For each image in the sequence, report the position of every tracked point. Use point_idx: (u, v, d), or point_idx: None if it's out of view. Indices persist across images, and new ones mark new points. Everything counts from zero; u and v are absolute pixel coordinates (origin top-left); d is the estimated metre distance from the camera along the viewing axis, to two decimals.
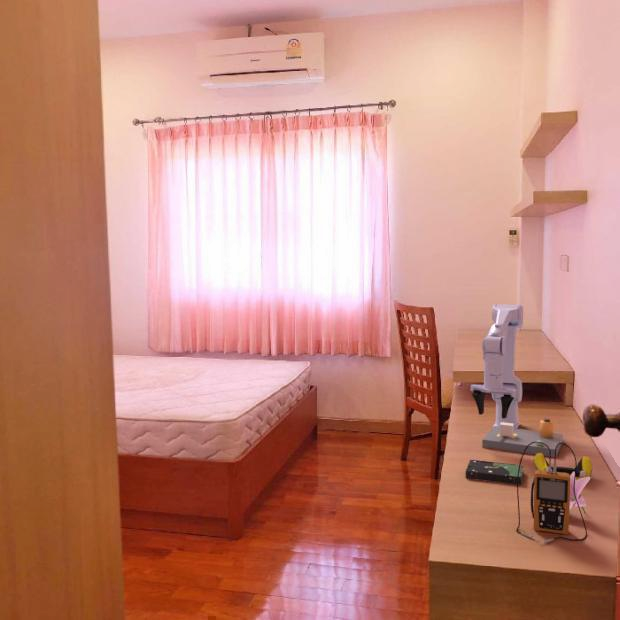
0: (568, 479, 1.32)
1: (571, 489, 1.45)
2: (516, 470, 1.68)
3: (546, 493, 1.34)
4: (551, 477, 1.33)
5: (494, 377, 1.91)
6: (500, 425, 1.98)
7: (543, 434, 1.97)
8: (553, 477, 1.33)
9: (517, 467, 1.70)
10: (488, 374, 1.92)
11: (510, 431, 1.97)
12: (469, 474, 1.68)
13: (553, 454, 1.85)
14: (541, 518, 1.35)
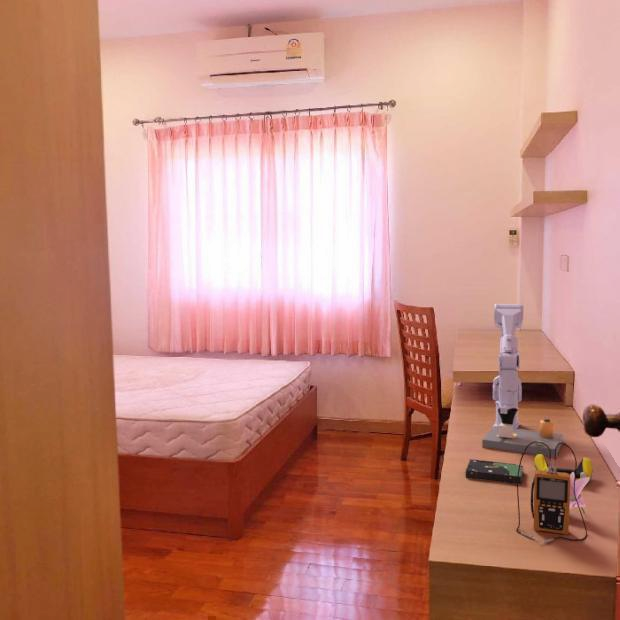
0: (568, 479, 1.32)
1: (570, 489, 1.45)
2: (516, 470, 1.68)
3: (546, 493, 1.34)
4: (551, 477, 1.33)
5: (499, 391, 1.99)
6: (499, 426, 1.97)
7: (543, 434, 1.97)
8: (553, 477, 1.33)
9: (517, 467, 1.71)
10: (505, 390, 1.96)
11: (509, 432, 1.95)
12: (469, 474, 1.68)
13: (553, 454, 1.85)
14: (541, 518, 1.35)
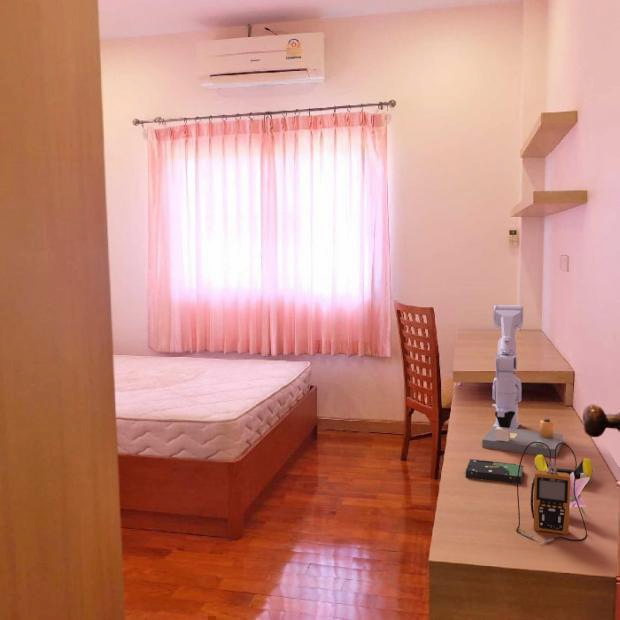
0: (568, 479, 1.32)
1: (570, 490, 1.45)
2: (516, 470, 1.68)
3: (546, 493, 1.34)
4: (551, 477, 1.33)
5: (496, 394, 1.95)
6: (496, 430, 1.93)
7: (543, 434, 1.97)
8: (553, 477, 1.33)
9: (517, 466, 1.71)
10: (502, 393, 1.93)
11: (506, 436, 1.91)
12: (469, 474, 1.68)
13: (553, 454, 1.85)
14: (541, 518, 1.35)
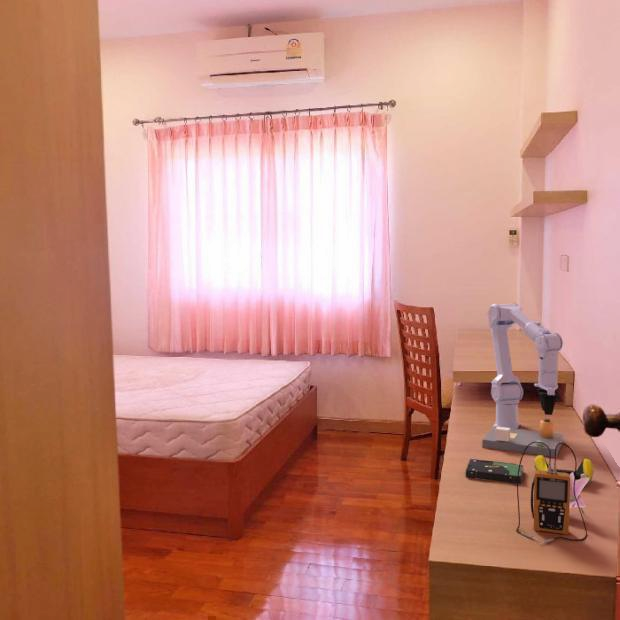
0: (568, 479, 1.32)
1: (570, 490, 1.45)
2: (516, 470, 1.68)
3: (546, 493, 1.34)
4: (551, 477, 1.33)
5: (540, 373, 1.95)
6: (496, 430, 1.93)
7: (543, 434, 1.97)
8: (553, 477, 1.33)
9: (517, 466, 1.71)
10: (551, 371, 1.93)
11: (506, 436, 1.91)
12: (469, 474, 1.68)
13: (553, 454, 1.85)
14: (541, 518, 1.35)
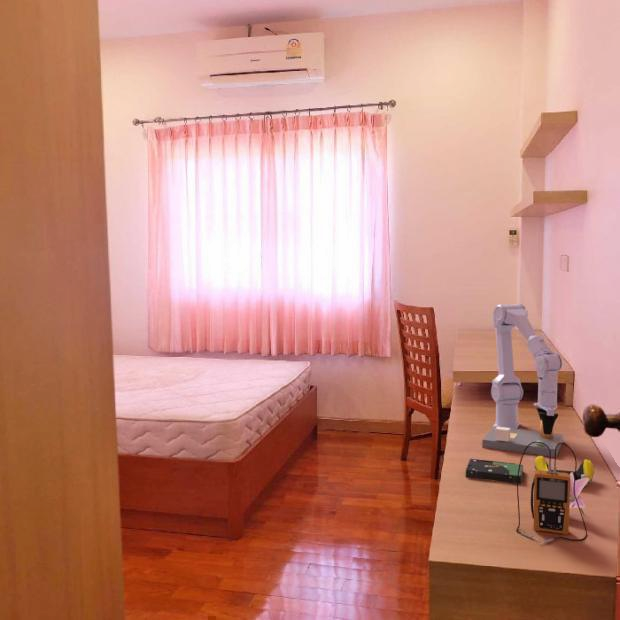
0: (568, 479, 1.32)
1: None
2: (516, 469, 1.69)
3: (546, 493, 1.34)
4: (551, 477, 1.33)
5: (540, 393, 1.96)
6: (496, 430, 1.93)
7: (543, 434, 1.97)
8: (553, 477, 1.33)
9: (517, 466, 1.71)
10: (550, 392, 1.94)
11: (506, 436, 1.91)
12: (469, 473, 1.68)
13: (553, 454, 1.85)
14: (541, 518, 1.35)
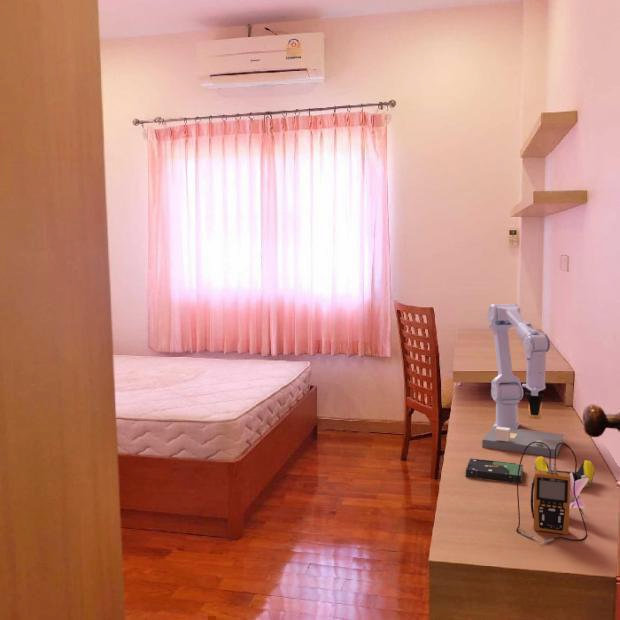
0: (568, 479, 1.32)
1: None
2: (516, 469, 1.69)
3: (546, 493, 1.34)
4: (551, 477, 1.33)
5: (527, 373, 1.96)
6: (496, 430, 1.93)
7: None
8: (553, 477, 1.33)
9: (517, 466, 1.71)
10: (537, 372, 1.94)
11: (506, 436, 1.91)
12: (469, 473, 1.69)
13: (553, 454, 1.85)
14: (541, 518, 1.35)
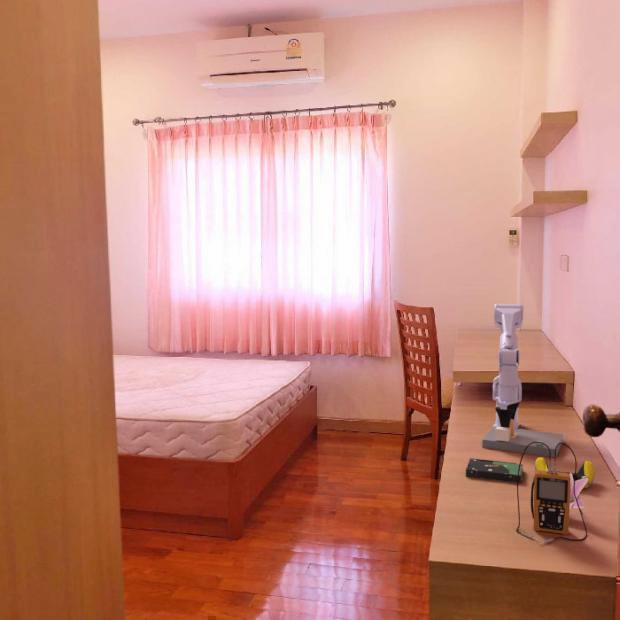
0: (568, 479, 1.32)
1: None
2: (516, 469, 1.69)
3: (546, 493, 1.34)
4: (551, 477, 1.33)
5: (499, 387, 1.98)
6: (496, 430, 1.93)
7: None
8: (553, 477, 1.33)
9: (517, 465, 1.72)
10: (505, 386, 1.96)
11: (506, 436, 1.91)
12: (469, 473, 1.69)
13: (553, 454, 1.85)
14: (541, 518, 1.35)
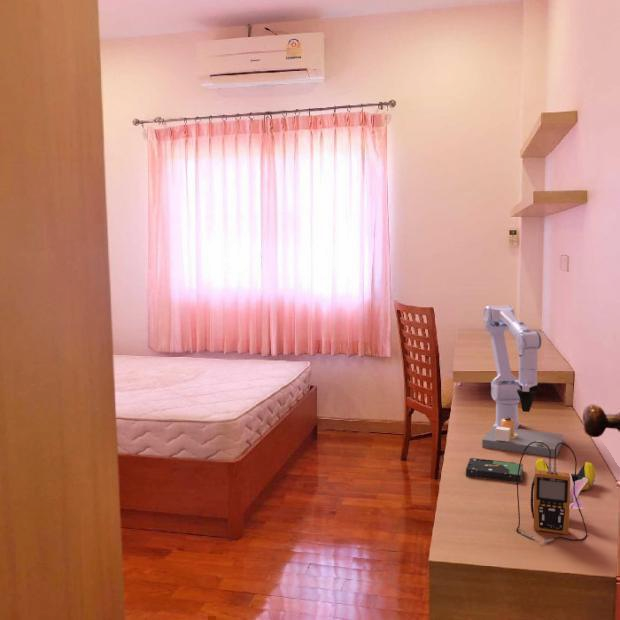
0: (568, 479, 1.32)
1: None
2: (516, 468, 1.69)
3: (546, 493, 1.34)
4: (551, 477, 1.33)
5: (519, 370, 2.01)
6: (496, 430, 1.93)
7: None
8: (553, 477, 1.33)
9: (517, 465, 1.72)
10: (528, 369, 1.98)
11: (506, 436, 1.91)
12: (469, 473, 1.69)
13: (553, 454, 1.85)
14: (541, 518, 1.35)
